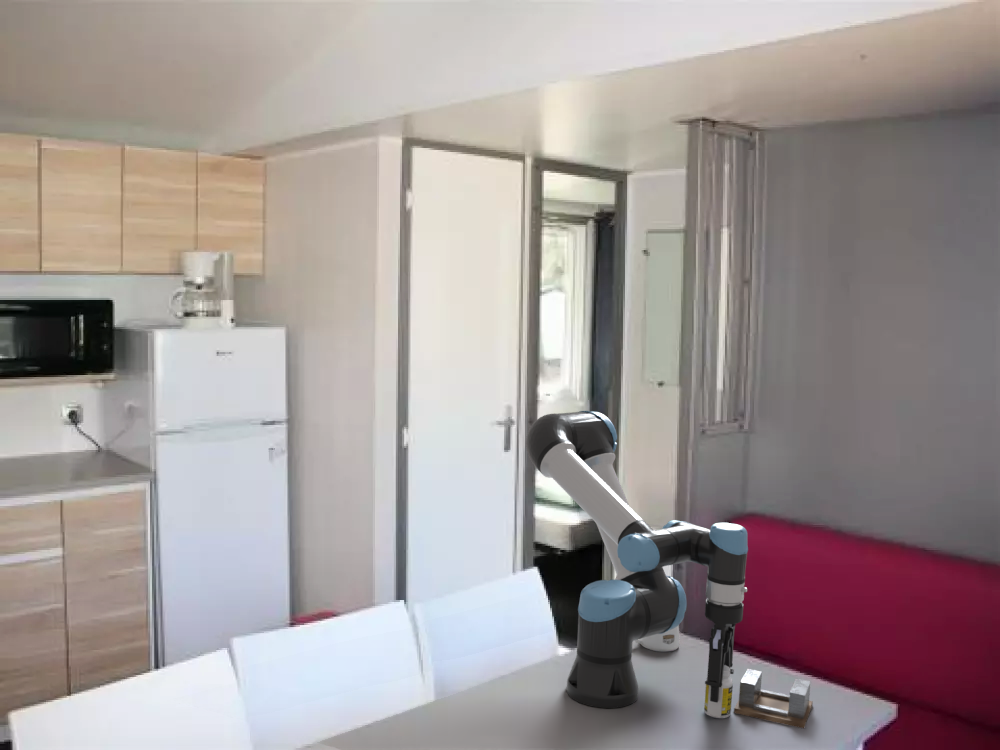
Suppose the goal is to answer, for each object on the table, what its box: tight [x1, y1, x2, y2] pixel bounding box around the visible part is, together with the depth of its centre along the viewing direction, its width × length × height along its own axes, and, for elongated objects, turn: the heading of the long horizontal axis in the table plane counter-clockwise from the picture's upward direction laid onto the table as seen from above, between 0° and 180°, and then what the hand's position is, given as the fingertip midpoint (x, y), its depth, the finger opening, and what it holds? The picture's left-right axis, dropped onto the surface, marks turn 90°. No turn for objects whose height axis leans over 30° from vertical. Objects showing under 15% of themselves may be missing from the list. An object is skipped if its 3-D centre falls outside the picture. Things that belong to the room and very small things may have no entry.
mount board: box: [733, 693, 813, 729], centre depth 204 cm, size 14×12×1 cm
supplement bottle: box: [703, 665, 734, 719], centre depth 200 cm, size 5×5×10 cm
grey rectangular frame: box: [738, 668, 812, 719], centre depth 203 cm, size 13×9×5 cm
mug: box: [634, 624, 681, 653], centre depth 237 cm, size 12×10×6 cm
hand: (717, 709), depth 201 cm, fingers closed on supplement bottle, 5 cm apart
